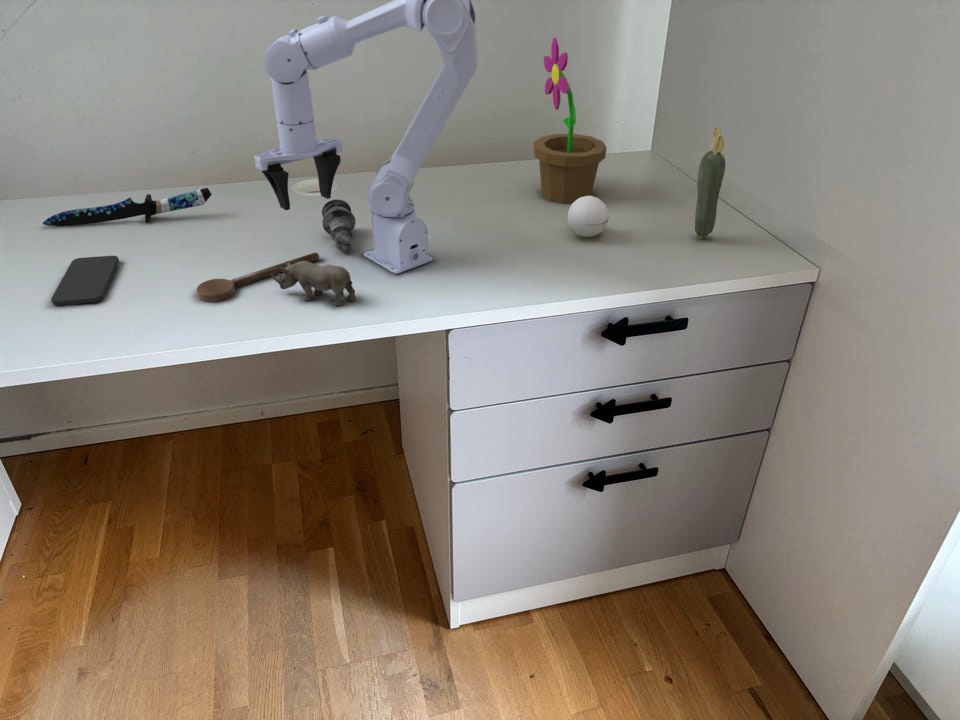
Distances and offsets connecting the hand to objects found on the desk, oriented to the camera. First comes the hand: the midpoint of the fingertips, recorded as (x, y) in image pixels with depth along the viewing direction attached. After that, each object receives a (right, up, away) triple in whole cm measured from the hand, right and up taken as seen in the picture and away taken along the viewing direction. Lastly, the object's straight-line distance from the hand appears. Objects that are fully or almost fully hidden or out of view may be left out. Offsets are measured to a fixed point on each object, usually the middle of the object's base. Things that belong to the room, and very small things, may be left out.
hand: (305, 202), depth 127 cm
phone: (-34, -14, -3) cm, 37 cm away
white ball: (+50, -3, +13) cm, 52 cm away
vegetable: (+69, -4, +12) cm, 70 cm away
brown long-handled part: (-7, -13, -2) cm, 15 cm away
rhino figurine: (+3, -16, -7) cm, 18 cm away
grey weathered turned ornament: (+3, +1, +12) cm, 13 cm away
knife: (-37, 0, +17) cm, 41 cm away
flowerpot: (+47, +8, +30) cm, 56 cm away
